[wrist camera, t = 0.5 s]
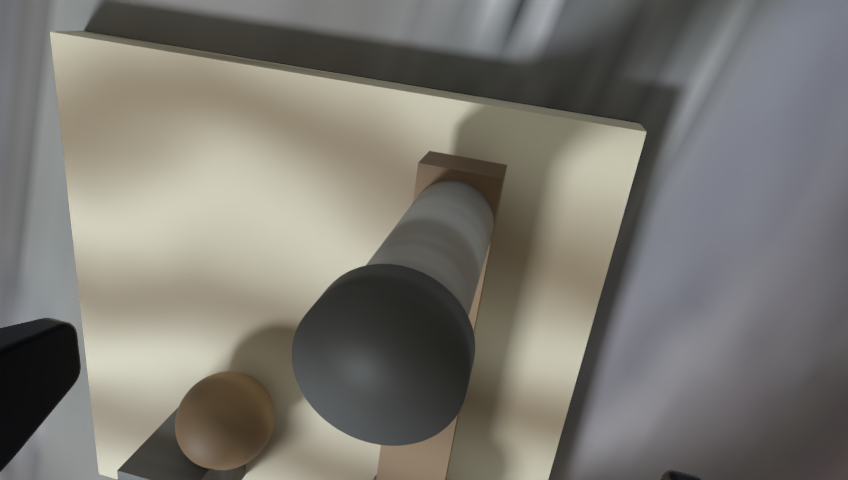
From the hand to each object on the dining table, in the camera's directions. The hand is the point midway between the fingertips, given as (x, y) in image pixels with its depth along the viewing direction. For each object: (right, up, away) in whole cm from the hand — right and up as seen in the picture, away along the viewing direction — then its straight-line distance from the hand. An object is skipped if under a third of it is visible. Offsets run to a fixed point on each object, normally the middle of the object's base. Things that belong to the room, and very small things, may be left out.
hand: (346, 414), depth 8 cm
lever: (+2, -2, +13) cm, 13 cm away
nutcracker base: (-3, -1, +15) cm, 15 cm away
